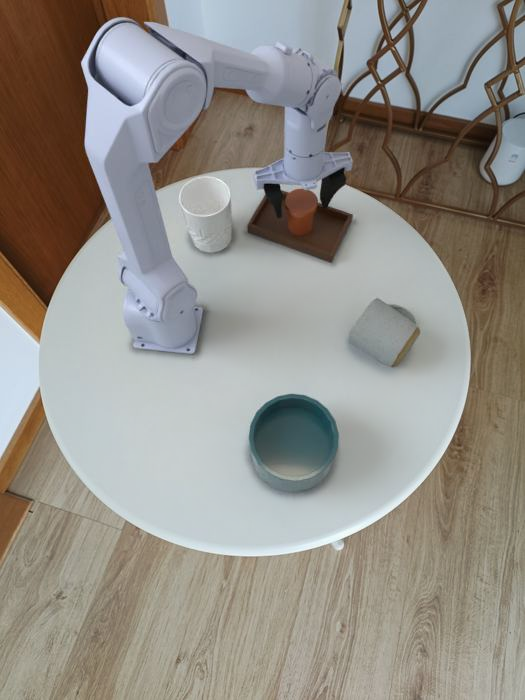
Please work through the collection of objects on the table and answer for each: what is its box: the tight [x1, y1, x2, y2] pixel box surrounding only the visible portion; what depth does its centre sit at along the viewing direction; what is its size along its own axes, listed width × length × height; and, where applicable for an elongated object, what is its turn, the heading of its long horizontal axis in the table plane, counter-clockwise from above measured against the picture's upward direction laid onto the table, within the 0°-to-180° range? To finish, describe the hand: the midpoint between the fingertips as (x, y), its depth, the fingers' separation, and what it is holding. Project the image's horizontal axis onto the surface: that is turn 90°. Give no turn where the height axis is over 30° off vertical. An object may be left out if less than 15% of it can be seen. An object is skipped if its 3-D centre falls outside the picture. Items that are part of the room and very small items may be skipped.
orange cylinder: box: [285, 188, 319, 236], centre depth 87 cm, size 5×5×6 cm
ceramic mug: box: [347, 297, 421, 368], centre depth 78 cm, size 11×8×8 cm
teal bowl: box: [248, 393, 340, 493], centre depth 70 cm, size 11×11×8 cm
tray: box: [246, 189, 354, 264], centre depth 89 cm, size 15×9×2 cm, turn 65°
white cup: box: [178, 175, 233, 254], centre depth 85 cm, size 8×8×10 cm
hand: (300, 208), depth 86 cm, fingers open, 7 cm apart
